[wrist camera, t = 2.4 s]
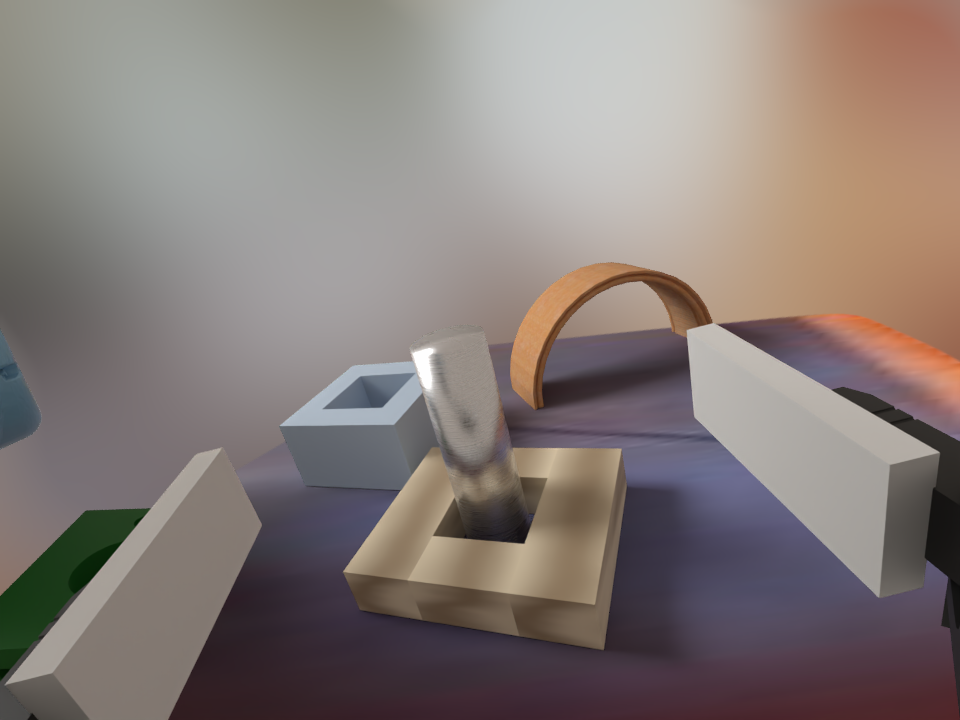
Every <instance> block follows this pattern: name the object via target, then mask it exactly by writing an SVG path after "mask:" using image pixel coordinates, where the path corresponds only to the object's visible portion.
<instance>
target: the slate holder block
mask: <svg viewBox="0 0 960 720" xmlns="http://www.w3.org/2000/svg"><path fill="white" fill-rule="evenodd" d="M279 427H280V429H281V432H282V434H283V436H284V438H285V441H286V443H287V445H288V447H289V450H290V452H291V454H292V456H293V459H294V461H295V463H296V465H297V468H298V470H299V472H300V474H301V477H302V479H303V481H304V483H305V486H322V487H343V488H364V489H385V490H402V488H403V487H404V486H405V484H406V483H407V481H408V480H409V479H410V477H411V476H412V474H413V473H414V472H415V470H416V469H417V467H418V466H419V465H420V463H421V462H422V460H423V459H424V458H425V456H426V455H427V453H428V452H429V451H430V449H431V448H432V447H439V444H438V441H437V437H436V434H435V431H434V428H433V424H432V421H431V418H430V415H429V411H428V408H427V405H426V402H425V398H424V395H423V392H422V389H421V385H420V382H419V379H418V376H417V372H416V369H415V366H414V363H413V361H412V362H398V363H384V364H371V365H356V366H352V367H351V368H350V369H348V370H347V371H346V372H345V373H344V374H342V375H341V376H340V377H339V378H338V379H336V380H335V381H334V382H333V383H331V384H330V385H329V386H328V387H326V388H325V389H324V390H323V391H322V392H320V393H319V394H318V395H317V396H315V397H314V398H313V399H312V400H310V401H309V402H308V403H307V404H306V405H304V406H303V407H302V408H301V409H299V410H298V411H297V412H296V413H295V414H293V415H292V416H291V417H290V418H288V419H287V420H286V421H285V422H284V423H282V424H281V425H280V426H279Z"/></svg>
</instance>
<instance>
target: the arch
mask: <svg viewBox="0 0 960 720" xmlns="http://www.w3.org/2000/svg"><path fill="white" fill-rule="evenodd" d="M637 281H642V282H644V283H645V284H647V285H648V286H649V287H651V288H652V289H653V290H654V291H655V292H656V293H657V295H658V296H659V297H660V299H661V300H662V301H663V303H664V305H665V307H666V309H667V312H668V314H669V318H670V322H671V326H672V332H675V333H677V334H679V335H682V336H685V337H687V330H689V329H692V328H696V327H700V326H704V325H708V324H712V319H711V317H710V314H709V312H708V310H707V307H706V306H705V304H704V303H703V301H702V300H701V298H700V297H699V295H698V294H697V293H696V292H695V291H694V290H693V289H692V288H691V287H690V286H689V285H687V284H686V283H684V282H683V281H681V280H679V279H678V278H676V277H674V276H671V275H668V274H665V273H662V272H658V271H654V270H649V269H645V268H640V267H636V266H632V265H627V264H620V263H612V262H611V263H600V264H599V263H598V264H593V265H590V266H586V267H582V268H580V269H577V270H575V271H573V272H571V273H569V274H567V275H565V276H564V277H562V278H561V279H559V280H558V281H556V282H555V283H554V284H552V285H551V286H550V287H549V288H548V289H547V290H546V291H545V292H544V293H543V294H542V295H541V296H540V297H539V298H538V299H537V300H536V302H535V303H534V304H533V306H532V307H531V308H530V309H529V311H528V313H527V315H526V316H525V318H524V320H523V322H522V324H521V325H520V328H519V330H518V333H517V336H516V339H515V341H514V346H513V351H512V356H511V371H510V375H511V382H512V388H513V389H514V390H515V391H516V392H517V393H518V394H519V395H520V396H521V397H522V398H523V399H524V400H525V401H526V402H527V403H528V404H529V405H530V406H531V407H532V408H533V409H534V410H537V408H538V407H539V408H541V407H543V406H544V404H543V397H542V382H543V373H544V369H545V364H546V360H547V357H548V355H549V352H550V349H551V347H552V344H553V342H554V341H555V339H556V337H557V335H558V334H559V332H560V330H561V328H562V327H563V326H564V325H565V323H566V322H567V321H568V319H569V318H570V317H571V316H572V315H573V314H574V313H575V312H576V311H577V310H578V309H579V308H580V307H581V306H582V305H583V304H584V303H585V302H587V301H588V300H590V299H591V298H592V297H594V296H595V295H597V294H598V293H600V292H602V291H605V290H606V289H609V288H611V287H613V286H617V285H620V284H623V283H627V282H637Z"/></svg>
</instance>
